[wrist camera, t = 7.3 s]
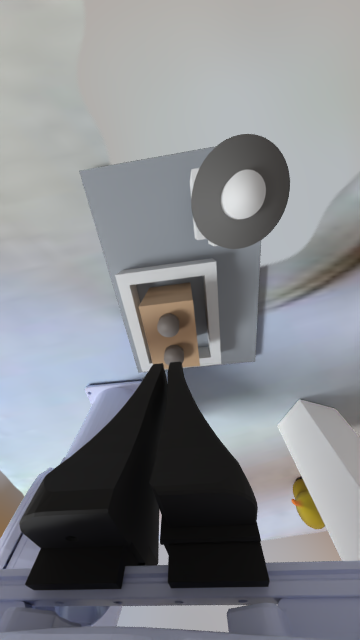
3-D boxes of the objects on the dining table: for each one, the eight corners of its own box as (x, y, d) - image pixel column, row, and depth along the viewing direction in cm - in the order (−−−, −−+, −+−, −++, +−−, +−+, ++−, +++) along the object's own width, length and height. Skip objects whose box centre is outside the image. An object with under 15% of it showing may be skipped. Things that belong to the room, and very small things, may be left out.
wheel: (257, 238, 14) (291, 243, 10) (193, 248, 15) (197, 256, 10) (261, 156, 12) (306, 115, 8) (185, 169, 13) (187, 136, 8)
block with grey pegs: (196, 336, 21) (200, 372, 15) (160, 339, 21) (152, 376, 16) (190, 282, 18) (193, 304, 13) (149, 287, 18) (136, 310, 13)
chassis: (252, 356, 23) (263, 376, 20) (140, 367, 24) (133, 388, 21) (260, 143, 14) (282, 119, 11) (85, 174, 15) (60, 159, 12)
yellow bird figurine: (288, 459, 32) (312, 511, 26) (332, 490, 37) (361, 541, 31) (267, 469, 34) (285, 520, 28) (312, 498, 38) (336, 547, 32)
